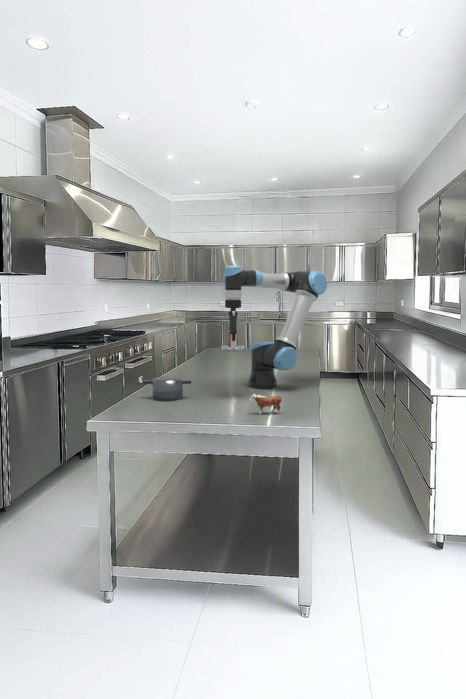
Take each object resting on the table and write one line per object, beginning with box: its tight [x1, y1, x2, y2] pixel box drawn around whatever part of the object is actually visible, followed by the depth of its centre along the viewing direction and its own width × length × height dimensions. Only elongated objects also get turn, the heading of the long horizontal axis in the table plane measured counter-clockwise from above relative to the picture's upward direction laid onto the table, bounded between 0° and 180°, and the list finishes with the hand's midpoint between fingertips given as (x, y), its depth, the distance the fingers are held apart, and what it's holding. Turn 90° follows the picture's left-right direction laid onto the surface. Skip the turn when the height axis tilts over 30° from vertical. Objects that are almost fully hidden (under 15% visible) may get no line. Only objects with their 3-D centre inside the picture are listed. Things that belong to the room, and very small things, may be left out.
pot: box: [142, 375, 192, 402], centre depth 257 cm, size 22×14×9 cm, turn 92°
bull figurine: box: [248, 393, 282, 416], centre depth 228 cm, size 4×13×8 cm, turn 95°
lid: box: [220, 332, 246, 352], centre depth 258 cm, size 11×11×8 cm
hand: (233, 346), depth 258 cm, fingers closed on lid, 11 cm apart
